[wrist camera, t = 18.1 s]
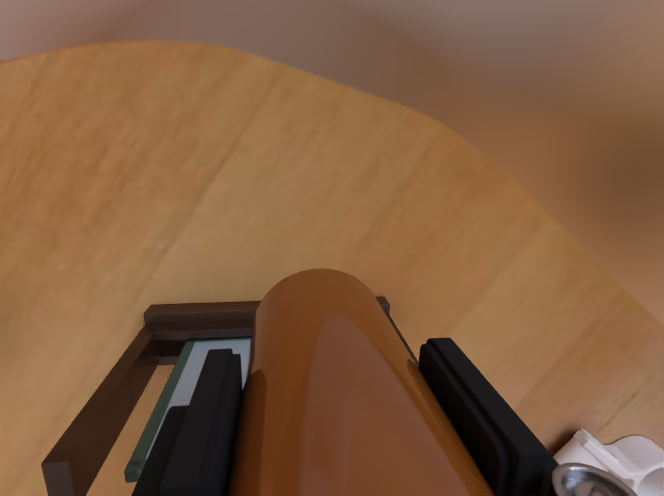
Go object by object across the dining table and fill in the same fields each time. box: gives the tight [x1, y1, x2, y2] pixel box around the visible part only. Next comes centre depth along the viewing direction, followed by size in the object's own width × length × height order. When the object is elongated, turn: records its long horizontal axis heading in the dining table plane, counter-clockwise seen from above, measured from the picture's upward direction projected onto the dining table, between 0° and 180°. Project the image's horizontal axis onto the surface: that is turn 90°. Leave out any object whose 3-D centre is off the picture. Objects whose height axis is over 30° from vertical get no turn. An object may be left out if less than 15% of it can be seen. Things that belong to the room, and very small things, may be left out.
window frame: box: [41, 297, 419, 496], centre depth 22 cm, size 4×17×13 cm, turn 89°
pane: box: [124, 336, 251, 483], centre depth 19 cm, size 2×7×14 cm, turn 89°
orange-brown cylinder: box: [226, 269, 495, 496], centre depth 9 cm, size 5×5×9 cm
